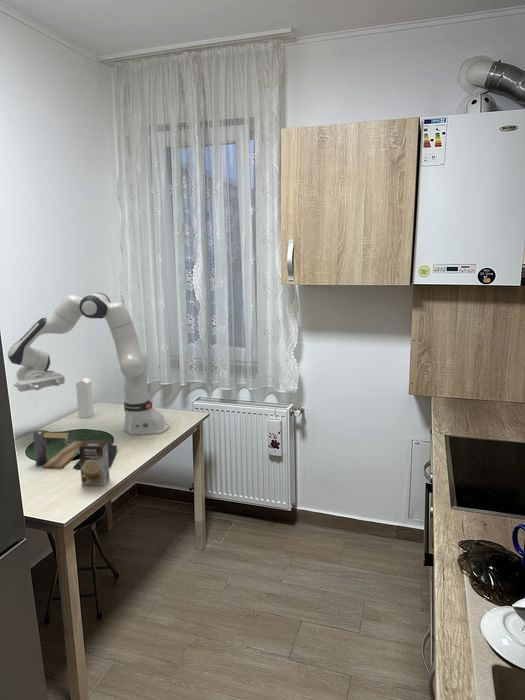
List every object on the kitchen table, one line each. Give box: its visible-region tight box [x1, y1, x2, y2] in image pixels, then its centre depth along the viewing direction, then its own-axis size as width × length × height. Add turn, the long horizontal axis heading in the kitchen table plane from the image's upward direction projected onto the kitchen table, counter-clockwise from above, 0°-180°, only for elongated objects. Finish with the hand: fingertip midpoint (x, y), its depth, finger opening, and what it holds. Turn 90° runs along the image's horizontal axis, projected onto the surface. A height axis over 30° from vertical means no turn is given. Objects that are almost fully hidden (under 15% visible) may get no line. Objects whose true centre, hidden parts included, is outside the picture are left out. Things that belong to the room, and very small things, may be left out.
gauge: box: [32, 429, 70, 467], centre depth 205 cm, size 15×5×14 cm, turn 84°
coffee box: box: [79, 439, 110, 487], centre depth 189 cm, size 9×6×16 cm
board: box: [42, 440, 85, 470], centre depth 215 cm, size 8×26×1 cm, turn 174°
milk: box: [75, 374, 94, 419], centre depth 263 cm, size 6×6×22 cm
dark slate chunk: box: [72, 444, 118, 471], centre depth 211 cm, size 15×22×5 cm
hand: (47, 386), depth 221 cm, fingers open, 8 cm apart
